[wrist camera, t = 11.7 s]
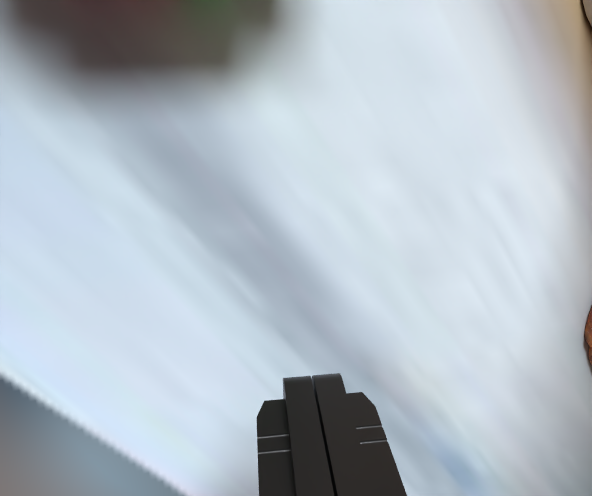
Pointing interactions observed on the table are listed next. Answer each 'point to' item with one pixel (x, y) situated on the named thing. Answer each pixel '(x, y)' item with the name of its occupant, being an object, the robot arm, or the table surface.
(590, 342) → the bell
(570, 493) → the table surface
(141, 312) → the table surface
